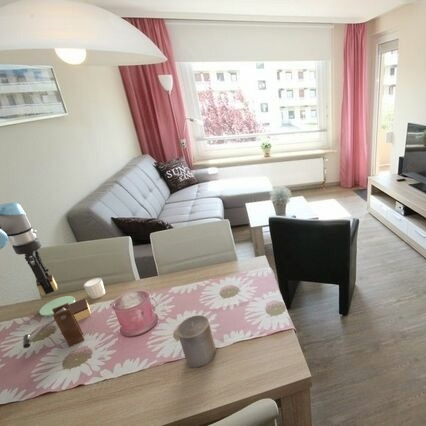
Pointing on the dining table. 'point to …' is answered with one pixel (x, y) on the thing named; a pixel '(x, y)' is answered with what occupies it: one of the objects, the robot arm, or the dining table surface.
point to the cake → (80, 309)
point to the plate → (55, 305)
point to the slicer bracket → (68, 325)
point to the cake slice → (50, 282)
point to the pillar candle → (197, 341)
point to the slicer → (38, 332)
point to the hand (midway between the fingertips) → (49, 289)
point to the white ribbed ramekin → (94, 288)
